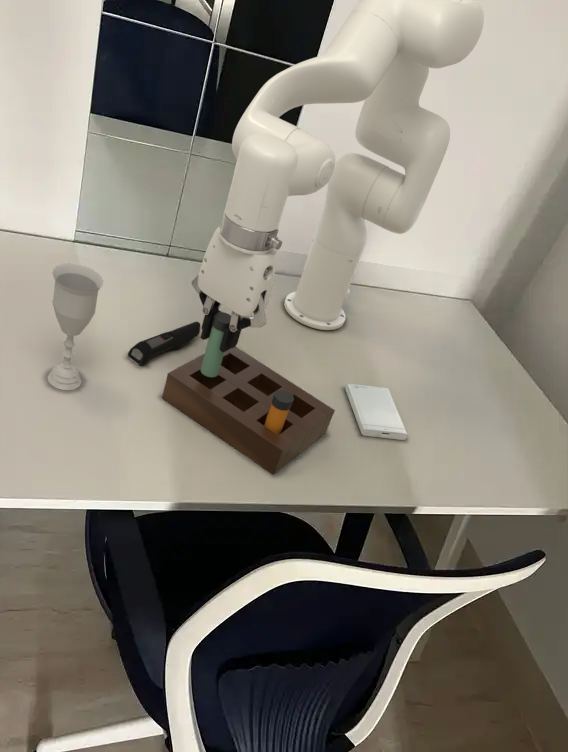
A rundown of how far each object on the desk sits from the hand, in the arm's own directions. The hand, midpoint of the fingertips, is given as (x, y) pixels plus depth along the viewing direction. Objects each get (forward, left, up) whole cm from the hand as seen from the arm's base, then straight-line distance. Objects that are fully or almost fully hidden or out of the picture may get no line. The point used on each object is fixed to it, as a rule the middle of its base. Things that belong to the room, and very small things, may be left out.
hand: (217, 341), depth 119 cm
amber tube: (0, +13, -12) cm, 18 cm away
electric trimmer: (-6, -13, -12) cm, 19 cm away
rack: (-3, +7, -12) cm, 14 cm away
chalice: (+14, -16, -12) cm, 25 cm away
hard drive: (-23, +21, -12) cm, 33 cm away
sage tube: (0, 0, -6) cm, 6 cm away
